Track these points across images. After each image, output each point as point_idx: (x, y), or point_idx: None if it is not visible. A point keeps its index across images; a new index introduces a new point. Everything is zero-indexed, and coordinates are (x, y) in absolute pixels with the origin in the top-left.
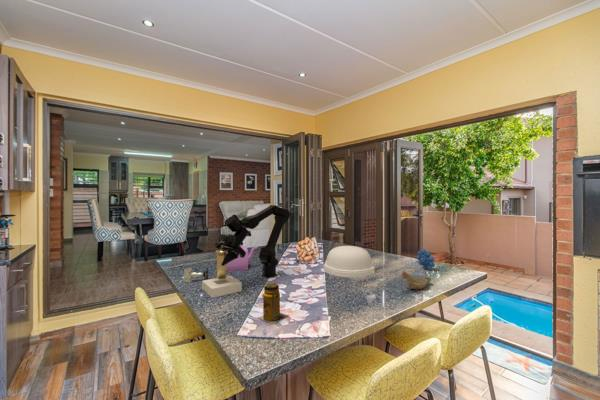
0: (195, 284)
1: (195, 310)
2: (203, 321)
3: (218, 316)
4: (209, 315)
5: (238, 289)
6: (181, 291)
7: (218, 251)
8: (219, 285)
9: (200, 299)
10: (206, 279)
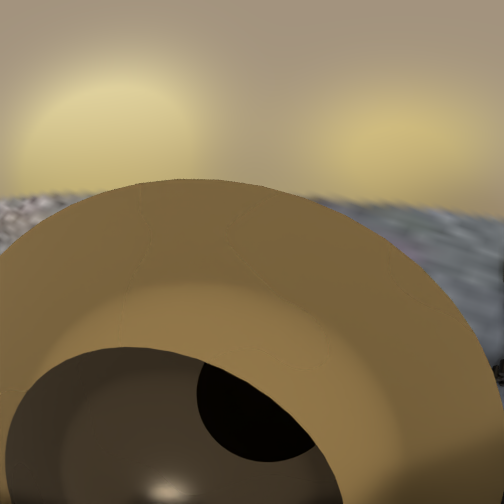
0: (461, 298)
1: (94, 194)
2: (19, 197)
3: (5, 243)
4: (29, 222)
5: None
6: (380, 205)
7: (16, 241)
8: None
9: None
10: (492, 369)
